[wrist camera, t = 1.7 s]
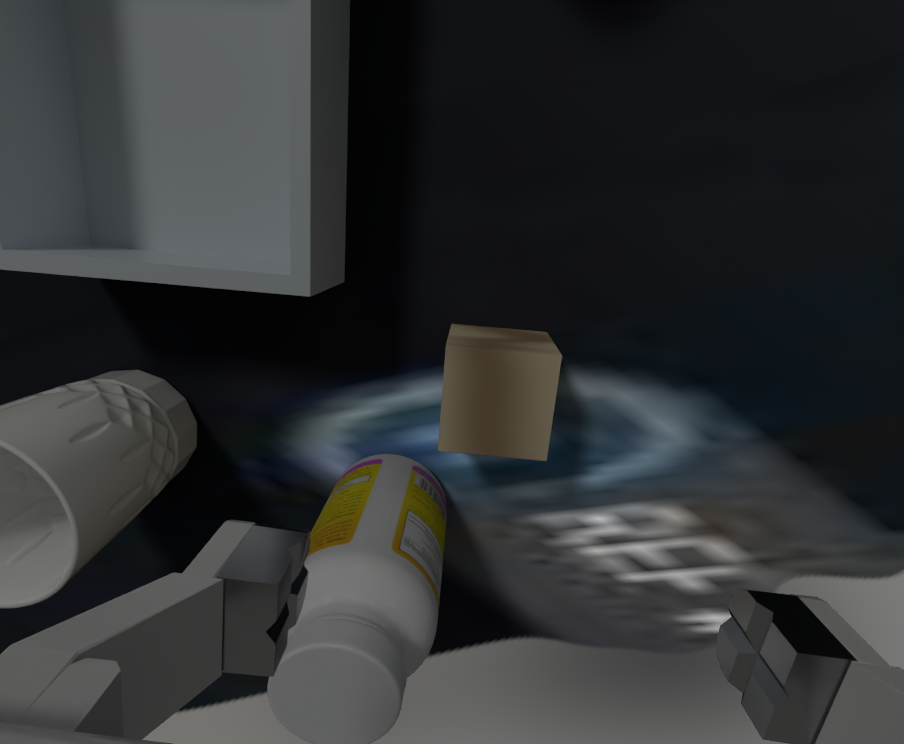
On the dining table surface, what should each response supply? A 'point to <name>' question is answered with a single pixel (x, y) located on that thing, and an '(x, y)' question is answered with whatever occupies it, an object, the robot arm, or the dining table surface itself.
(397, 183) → the dining table surface
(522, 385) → the beech cube
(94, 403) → the white cup
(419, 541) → the supplement bottle
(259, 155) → the tote
